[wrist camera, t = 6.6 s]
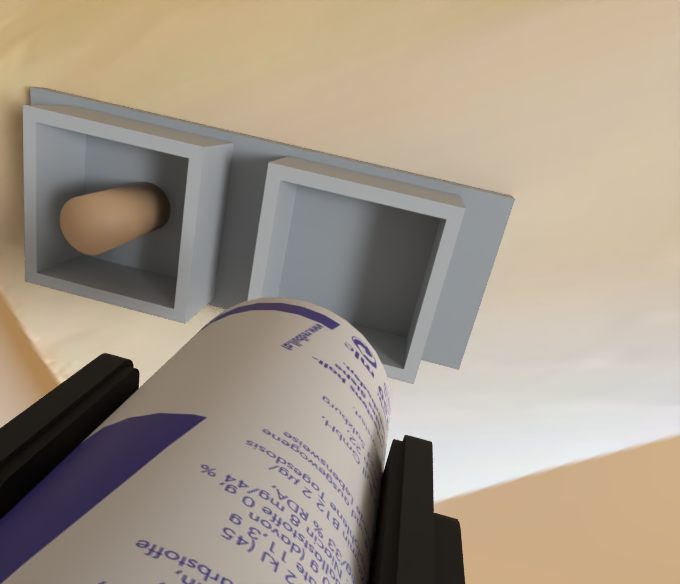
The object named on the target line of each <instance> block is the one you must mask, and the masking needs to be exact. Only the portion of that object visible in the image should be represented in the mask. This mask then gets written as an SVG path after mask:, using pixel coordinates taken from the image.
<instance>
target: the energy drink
mask: <svg viewBox="0 0 680 584" xmlns="http://www.w3.org/2000/svg"><path fill="white" fill-rule="evenodd" d="M390 413H391V396H390V387H389V383H388V379H387V375H386V372H385V369H384V367H383V365H382V363H381V361H380V359H379V357H378V355H377V353H376V351H375V350H374V349H373V347H372V346H371V345H370V344H369V342H368V341H367V340H366V338H365V337H364V336H363V335H362V334H361V333H360V332H359V331H358V330H357V329H355V328H354V327H353V326H352V325H351V324H350V323H349V322H347V321H346V320H345V319H343V318H341V317H340V316H338V315H336V314H335V313H333V312H331V311H330V310H328V309H326V308H323V307H321V306H318V305H315V304H313V303H310V302H307V301H303V300H297V299H291V298H286V297H269V298H259V299H254V300H250V301H245V302H242V303H240V304H237V305H235V306H233V307H231V308H228V309H226V310H225V311H223V312H222V313H220V314H219V315H218V316H216V317H215V318H214V319H212V320H211V321H210V322H209V323H208V324H207V325H205V326H204V327H203V328H202V329H201V330H200V331H199V332H198V333H197V334H196V335H195V336H194V337H193V338H192V339H191V340H190V341H189V342H187V343H186V344H185V345H184V346H183V347H182V348H181V349H180V350H179V351H178V352H177V353H176V354H175V355H174V356H173V357H172V358H171V359H170V360H168V361H167V362H166V363H165V364H164V365H163V366H162V367H161V368H160V369H159V370H158V371H157V372H156V373H155V374H154V375H153V376H152V377H150V378H149V379H148V380H147V381H146V382H145V383H144V384H143V385H142V386H141V387H140V388H139V389H138V390H137V391H136V392H135V393H134V394H133V395H131V396H130V397H129V398H128V399H127V400H126V401H125V402H124V403H123V404H122V405H121V406H120V407H119V408H118V409H117V410H116V411H115V412H113V413H112V414H111V415H110V416H109V417H108V418H107V419H106V420H105V421H104V422H103V423H102V424H101V425H100V426H99V427H98V428H97V429H96V430H94V431H93V432H92V433H91V434H90V435H89V436H88V437H87V438H86V439H85V440H84V441H83V442H82V443H81V444H80V445H79V446H78V447H77V448H75V449H74V450H73V451H72V452H71V453H70V454H69V455H68V456H67V457H66V458H65V459H64V460H63V461H62V462H61V463H60V464H59V465H57V466H56V467H55V468H54V469H53V470H52V471H51V472H50V473H49V474H48V475H47V476H46V477H45V478H44V479H43V480H42V481H41V482H40V483H38V484H37V485H36V486H35V487H34V488H33V489H32V490H31V491H30V492H29V493H28V494H27V495H26V496H25V497H24V498H23V499H22V500H20V501H19V502H18V503H17V504H16V505H15V506H14V507H13V508H12V509H11V510H10V511H9V512H8V513H7V514H6V515H5V516H4V517H3V518H1V519H0V584H370V576H371V568H372V560H373V551H374V543H375V535H376V527H377V519H378V510H379V502H380V494H381V486H382V477H383V471H384V463H385V455H386V446H387V438H388V430H389V422H390Z"/></svg>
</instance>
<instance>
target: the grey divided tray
mask: <svg viewBox="0 0 680 584" xmlns="http://www.w3.org/2000/svg"><path fill="white" fill-rule="evenodd" d="M23 160H24V231H25V281H26V282H29V283H33V284H37V285H41V286H44V287H48V288H52V289H56V290H60V291H63V292H67V293H71V294H75V295H78V296H82V297H86V298H90V299H94V300H97V301H101V302H105V303H109V304H112V305H116V306H120V307H124V308H128V309H131V310H135V311H139V312H143V313H146V314H150V315H154V316H158V317H162V318H165V319H169V320H173V321H177V322H180V323H184V324H185V323H186V322H188V321H189V320H190V319H191V318H192V317H193V316H195V315H196V314H197V313H198V312H199V311H200V310H201V309H203V308H204V307H205V306H206V305H207V304H209V305H213V306H217V307H220V308H224V309H228V308H231V307H233V306H235V305H237V304H240V303H242V302H245V301H250V300H254V299H259V298H269V297H286V298H291V299H297V300H303V301H307V302H310V303H313V304H315V305H318V306H321V307H323V308H326V309H328V310H330V311H331V312H333V313H335V314H336V315H338V316H340V317H341V318H343V319H345V320H346V321H347V322H349V323H350V324H351V325H352V326H353V327H354V328H355V329H357V330H358V331H359V332H360V333H361V334H362V335H363V336H364V337H365V338H366V340H367V341H368V342H369V344H370V345H371V346H372V347H373V349H374V350H375V351H376V353H377V355H378V357H379V359H380V361H381V363H382V365H383V367H384V369H385V372H386V375H387V377H388V378H392V379H396V380H400V381H403V382H407V383H411V384H414V381H415V378H416V374H417V371H418V368H419V364H420V361H421V360H424V361H428V362H431V363H435V364H439V365H443V366H447V367H451V368H454V369H458V370H459V367H460V364H461V361H462V358H463V355H464V352H465V349H466V346H467V343H468V340H469V337H470V334H471V331H472V328H473V325H474V322H475V319H476V316H477V313H478V310H479V307H480V303H481V300H482V297H483V294H484V291H485V288H486V285H487V282H488V279H489V276H490V273H491V270H492V267H493V264H494V261H495V258H496V255H497V252H498V249H499V246H500V243H501V240H502V237H503V234H504V231H505V228H506V224H507V221H508V218H509V215H510V212H511V209H512V206H513V203H514V200H515V199H514V198H513V197H512V196H510V195H506V194H501V193H497V192H493V191H488V190H484V189H480V188H475V187H471V186H467V185H462V184H458V183H454V182H449V181H445V180H441V179H436V178H432V177H428V176H423V175H419V174H415V173H410V172H406V171H402V170H397V169H393V168H389V167H384V166H380V165H376V164H371V163H367V162H363V161H358V160H354V159H350V158H345V157H341V156H337V155H333V154H328V153H324V152H320V151H315V150H311V149H307V148H302V147H298V146H294V145H289V144H285V143H281V142H276V141H272V140H268V139H263V138H259V137H255V136H250V135H246V134H242V133H237V132H233V131H229V130H224V129H220V128H216V127H211V126H207V125H203V124H198V123H194V122H190V121H185V120H181V119H177V118H172V117H168V116H164V115H159V114H155V113H151V112H146V111H142V110H138V109H133V108H129V107H125V106H120V105H116V104H112V103H107V102H103V101H99V100H94V99H90V98H86V97H81V96H77V95H73V94H68V93H64V92H60V91H56V90H51V89H47V88H38V87H30V105H23Z"/></svg>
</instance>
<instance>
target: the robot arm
mask: <svg viewBox="0 0 680 584" xmlns="http://www.w3.org/2000/svg"><path fill="white" fill-rule="evenodd" d="M138 387H139V370H138V369H136V368H133V362H132V361H131V360H129V359H126V358H122V357H118V356H115V355H111V354H107V353H103V354H101V355H100V356H98V357H97V358H96V359H94V360H93V361H91V362H90V363H89V364H87V365H86V366H85V367H83V368H82V369H81V370H79V371H78V372H76V373H75V374H74V375H72V376H71V377H70V378H68V379H67V380H66V381H64V382H63V383H61V384H60V385H59V386H57V387H56V388H55V389H53V390H52V391H51V392H49V393H48V394H46V395H45V396H44V397H43V398H41V399H40V400H38V401H37V402H36V403H34V404H33V405H31V406H30V407H29V408H27V409H26V410H25V411H23V412H22V413H21V414H19V415H18V416H16V417H15V418H14V419H12V420H11V421H10V422H8V423H7V424H6V425H4V426H3V427H1V428H0V519H1V518H3V517H4V516H5V515H6V514H7V513H8V512H9V511H10V510H11V509H12V508H13V507H14V506H15V505H16V504H17V503H18V502H19V501H20V500H22V499H23V498H24V497H25V496H26V495H27V494H28V493H29V492H30V491H31V490H32V489H33V488H34V487H35V486H36V485H37V484H38V483H40V482H41V481H42V480H43V479H44V478H45V477H46V476H47V475H48V474H49V473H50V472H51V471H52V470H53V469H54V468H55V467H56V466H57V465H59V464H60V463H61V462H62V461H63V460H64V459H65V458H66V457H67V456H68V455H69V454H70V453H71V452H72V451H73V450H74V449H75V448H77V447H78V446H79V445H80V444H81V443H82V442H83V441H84V440H85V439H86V438H87V437H88V436H89V435H90V434H91V433H92V432H93V431H94V430H96V429H97V428H98V427H99V426H100V425H101V424H102V423H103V422H104V421H105V420H106V419H107V418H108V417H109V416H110V415H111V414H112V413H113V412H115V411H116V410H117V409H118V408H119V407H120V406H121V405H122V404H123V403H124V402H125V401H126V400H127V399H128V398H129V397H130V396H131V395H133V394H134V393H135V392H136V391H137V390H138ZM370 584H465V577H464V565H463V553H462V541H461V529H460V524H459V521H458V519H454V518H451V517H447V516H444V515H440V514H437V513H434V507H433V451H432V442H430V441H427V440H423V439H419V438H416V437H412V436H408V435H405V436H404V439H403V441H399V440H395V439H394V440H393V442H392V445H391V448H390V452H389V455H388V458H387V462H386V465H385V469H384V472H383V477H382V486H381V494H380V502H379V510H378V519H377V527H376V535H375V543H374V551H373V560H372V568H371V576H370Z"/></svg>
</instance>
